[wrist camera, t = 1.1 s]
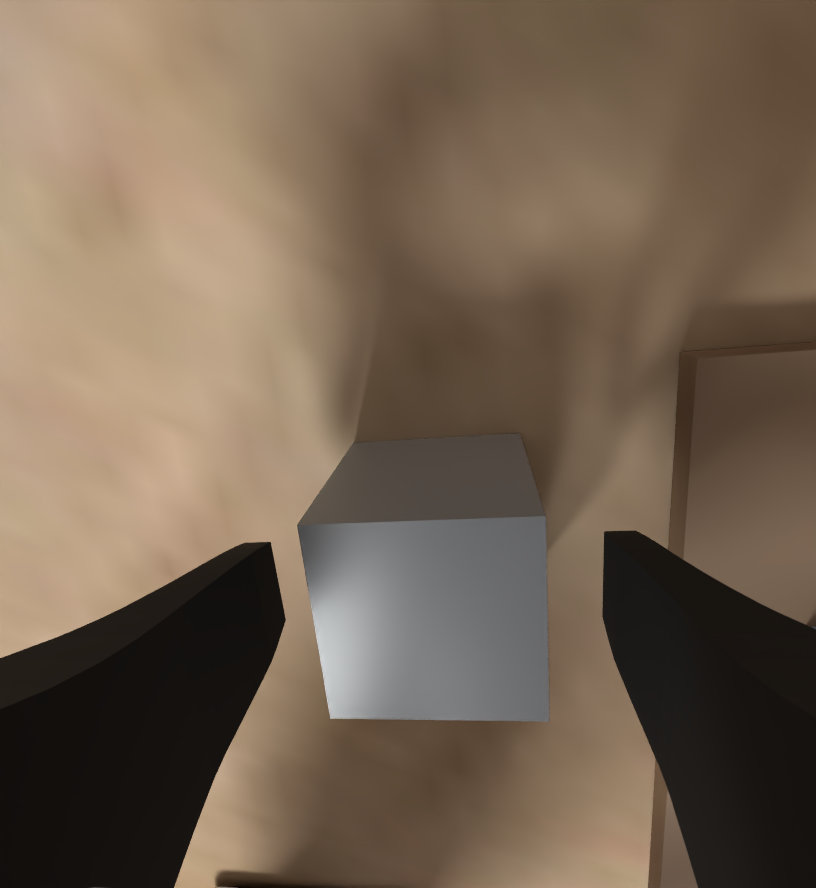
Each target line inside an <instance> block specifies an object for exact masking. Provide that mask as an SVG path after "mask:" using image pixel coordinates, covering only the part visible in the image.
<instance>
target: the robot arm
mask: <svg viewBox="0 0 816 888" xmlns="http://www.w3.org/2000/svg"><path fill="white" fill-rule="evenodd" d="M285 620H286V619H285V614H284V609H283V604H282V599H281V594H280V588H279V583H278V578H277V573H276V568H275V562H274V557H273V552H272V547H271V542H257V543H243V544H241V545H238V546H236V547H234V548H232V549H230V550H228V551H226V552H224V553H222V554H220V555H218V556H217V557H215V558H213V559H211V560H209V561H208V562H206V563H204V564H202V565H201V566H199V567H197V568H195V569H194V570H192V571H190V572H188V573H187V574H185V575H183V576H181V577H179V578H178V579H176V580H174V581H172V582H171V583H169V584H167V585H165V586H163V587H161V588H160V589H158V590H156V591H154V592H152V593H150V594H148V595H146V596H144V597H143V598H141V599H139V600H137V601H135V602H133V603H131V604H129V605H127V606H125V607H124V608H122V609H120V610H117V611H115V612H113V613H111V614H109V615H107V616H105V617H103V618H101V619H99V620H96V621H94V622H92V623H89V624H87V625H85V626H83V627H80V628H78V629H76V630H73V631H71V632H69V633H66V634H64V635H62V636H59V637H57V638H54V639H51V640H49V641H46V642H43V643H40V644H38V645H35V646H32V647H30V648H27V649H24V650H22V651H19V652H16V653H14V654H11V655H8V656H5V657H3V658H0V888H174V886H175V883H176V880H177V877H178V874H179V872H180V869H181V866H182V863H183V860H184V858H185V855H186V852H187V849H188V846H189V844H190V841H191V838H192V835H193V832H194V830H195V827H196V824H197V822H198V819H199V817H200V814H201V811H202V809H203V806H204V804H205V801H206V798H207V796H208V793H209V791H210V788H211V786H212V783H213V780H214V778H215V775H216V773H217V771H218V769H219V767H220V764H221V762H222V760H223V758H224V756H225V753H226V751H227V750H228V748H229V746H230V744H231V742H232V740H233V738H234V736H235V734H236V732H237V730H238V728H239V726H240V724H241V722H242V720H243V718H244V716H245V714H246V712H247V710H248V708H249V706H250V704H251V702H252V700H253V698H254V696H255V694H256V692H257V690H258V688H259V686H260V684H261V682H262V680H263V678H264V676H265V674H266V672H267V670H268V668H269V666H270V664H271V662H272V659H273V656H274V654H275V651H276V648H277V645H278V642H279V639H280V636H281V633H282V630H283V627H284V623H285ZM603 620H604V624H605V628H606V632H607V635H608V639H609V643H610V646H611V650H612V653H613V657H614V660H615V663H616V665H617V668H618V670H619V673H620V675H621V677H622V680H623V682H624V685H625V687H626V689H627V692H628V694H629V697H630V699H631V701H632V704H633V706H634V708H635V711H636V713H637V715H638V718H639V720H640V722H641V725H642V727H643V730H644V732H645V734H646V737H647V739H648V741H649V744H650V746H651V748H652V751H653V753H654V755H655V758H656V760H657V762H658V765H659V768H660V770H661V773H662V776H663V778H664V781H665V784H666V786H667V789H668V792H669V795H670V798H671V801H672V804H673V808H674V811H675V814H676V817H677V820H678V824H679V827H680V830H681V833H682V836H683V839H684V843H685V846H686V849H687V852H688V856H689V859H690V862H691V866H692V869H693V873H694V876H695V879H696V883H697V886H698V888H816V629H814V628H812V627H810V626H807V625H805V624H803V623H801V622H799V621H796V620H794V619H792V618H790V617H787V616H785V615H783V614H781V613H779V612H777V611H774V610H772V609H770V608H768V607H766V606H764V605H762V604H760V603H758V602H756V601H755V600H753V599H751V598H749V597H747V596H745V595H743V594H742V593H740V592H738V591H736V590H734V589H732V588H730V587H728V586H727V585H725V584H723V583H721V582H720V581H718V580H716V579H714V578H713V577H711V576H709V575H708V574H706V573H704V572H703V571H701V570H699V569H698V568H696V567H694V566H693V565H691V564H690V563H688V562H686V561H685V560H683V559H682V558H680V557H678V556H677V555H675V554H674V553H672V552H670V551H669V550H667V549H666V548H664V547H663V546H661V545H659V544H658V543H656V542H655V541H653V540H651V539H650V538H648V537H646V536H645V535H643V534H641V533H639V532H637V531H607V532H604V570H603ZM216 888H236V887H216Z"/></svg>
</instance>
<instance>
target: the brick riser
mask: <svg viewBox="0 0 816 888" xmlns="http://www.w3.org/2000/svg"><path fill="white" fill-rule="evenodd" d="M668 550H669V551H670V552H672V553H674V554H675V555H677V556H678V557H680V558H682V559H683V560H685V561H686V562H688V563H690V564H691V565H693V566H694V567H696V568H698V569H699V570H701V571H703V572H704V573H706V574H708V575H709V576H711V577H713V578H714V579H716V580H718V581H720V582H721V583H723V584H725V585H727V586H728V587H730V588H732V589H734V590H736V591H738V592H740V593H742V594H743V595H745V596H747V597H749V598H751V599H753V600H755V601H756V602H758V603H760V604H762V605H764V606H766V607H768V608H770V609H772V610H774V611H777V612H779V613H781V614H783V615H785V616H787V617H790V618H792V619H794V620H796V621H799V622H801V623H803V624H805V625H807V626H810V627H812V628H814V629H816V342H808V343H794V344H781V345H767V346H754V347H740V348H727V349H713V350H700V351H686V352H680V362H679V379H678V396H677V413H676V429H675V446H674V463H673V480H672V497H671V513H670V530H669V547H668ZM648 888H698V886H697V883H696V879H695V876H694V873H693V869H692V866H691V862H690V859H689V856H688V852H687V849H686V846H685V843H684V839H683V836H682V833H681V830H680V827H679V824H678V820H677V817H676V814H675V811H674V808H673V804H672V801H671V798H670V795H669V792H668V789H667V786H666V784H665V781H664V778H663V776H662V773H661V770H660V768H659V765H658V762H657V760H656V765H655V782H654V798H653V815H652V832H651V849H650V865H649V882H648Z"/></svg>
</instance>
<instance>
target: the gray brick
mask: <svg viewBox="0 0 816 888" xmlns="http://www.w3.org/2000/svg"><path fill="white" fill-rule="evenodd" d="M297 527H298V533H299V539H300V545H301V550H302V556H303V562H304V568H305V574H306V580H307V585H308V591H309V597H310V603H311V609H312V615H313V620H314V626H315V632H316V638H317V644H318V649H319V655H320V661H321V667H322V673H323V679H324V684H325V690H326V696H327V702H328V708H329V714H330V719H401V720H471V721H542V722H549V670H548V613H547V555H546V515H545V512H544V509H543V505H542V502H541V499H540V496H539V493H538V490H537V486H536V483H535V480H534V477H533V474H532V470H531V467H530V464H529V461H528V458H527V454H526V451H525V448H524V445H523V442H522V439H521V435H520V433H511V434H493V435H476V436H458V437H441V438H423V439H406V440H389V441H371V442H354V443H353V444H352V446H351V447H350V449H349V450H348V452H347V453H346V454H345V456H344V457H343V459H342V460H341V462H340V463H339V465H338V466H337V468H336V469H335V471H334V472H333V473H332V475H331V476H330V478H329V479H328V481H327V482H326V484H325V485H324V487H323V488H322V490H321V491H320V492H319V494H318V495H317V497H316V498H315V500H314V501H313V503H312V504H311V506H310V507H309V509H308V510H307V511H306V513H305V514H304V516H303V517H302V519H301V520H300V522H299V523H298V525H297Z"/></svg>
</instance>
